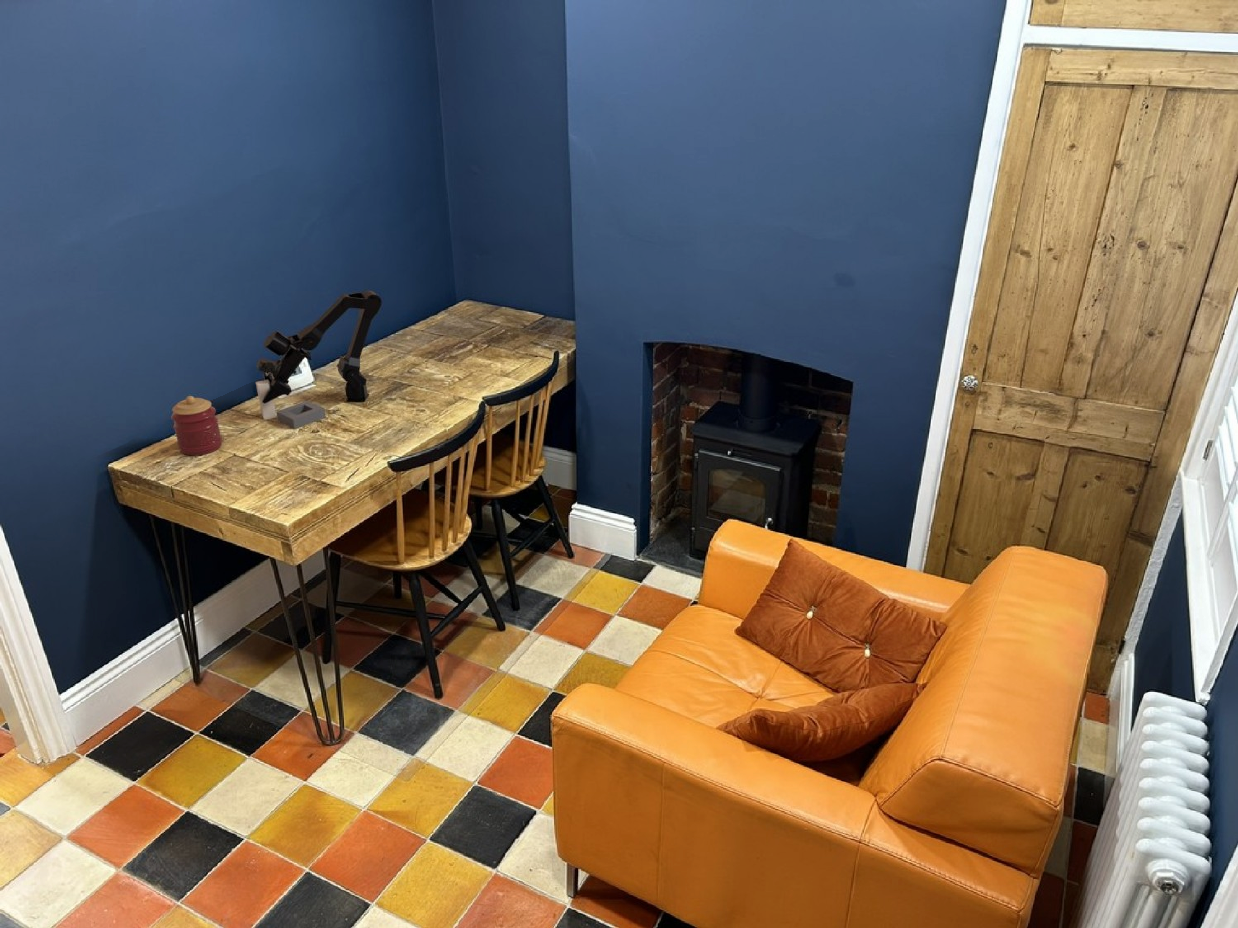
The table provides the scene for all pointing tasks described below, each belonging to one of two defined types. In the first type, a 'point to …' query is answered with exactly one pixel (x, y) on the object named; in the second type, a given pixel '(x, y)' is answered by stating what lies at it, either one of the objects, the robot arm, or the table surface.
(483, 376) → the table surface
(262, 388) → the light grey peg
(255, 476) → the table surface
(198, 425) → the canister
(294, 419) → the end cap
